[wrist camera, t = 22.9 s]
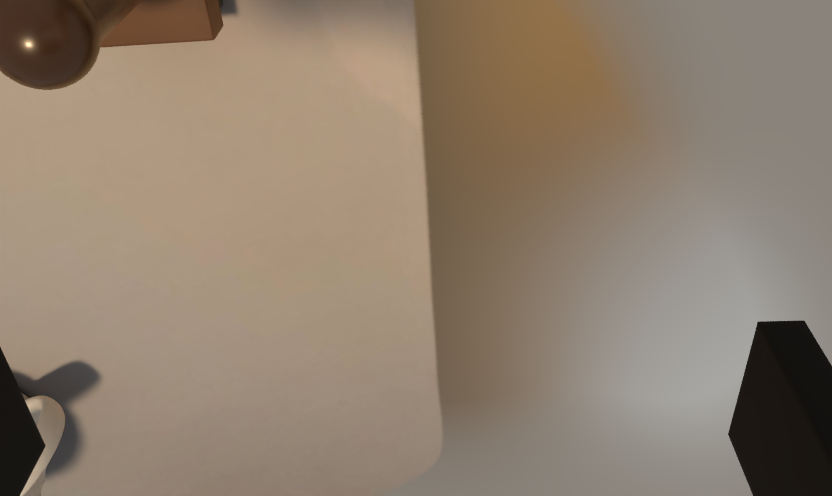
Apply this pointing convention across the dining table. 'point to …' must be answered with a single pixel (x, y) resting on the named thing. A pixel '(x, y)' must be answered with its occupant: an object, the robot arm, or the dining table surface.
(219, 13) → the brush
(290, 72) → the dining table surface
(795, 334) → the robot arm
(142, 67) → the dining table surface
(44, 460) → the mug
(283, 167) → the dining table surface
